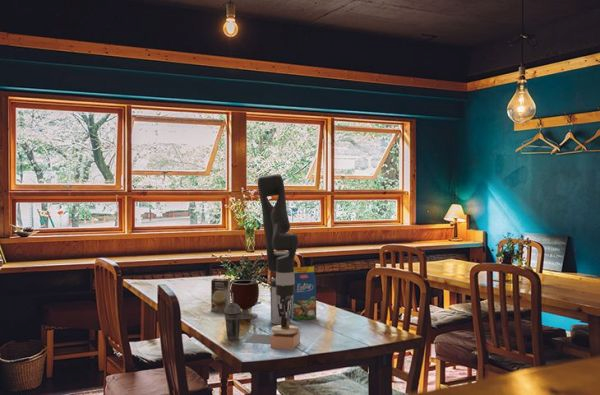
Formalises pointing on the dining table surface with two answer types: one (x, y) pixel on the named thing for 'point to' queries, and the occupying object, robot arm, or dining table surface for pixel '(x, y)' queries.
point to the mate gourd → (245, 296)
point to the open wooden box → (285, 340)
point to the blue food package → (304, 294)
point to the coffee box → (220, 294)
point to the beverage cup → (232, 320)
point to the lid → (285, 328)
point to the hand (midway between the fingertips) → (285, 325)
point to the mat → (259, 339)
